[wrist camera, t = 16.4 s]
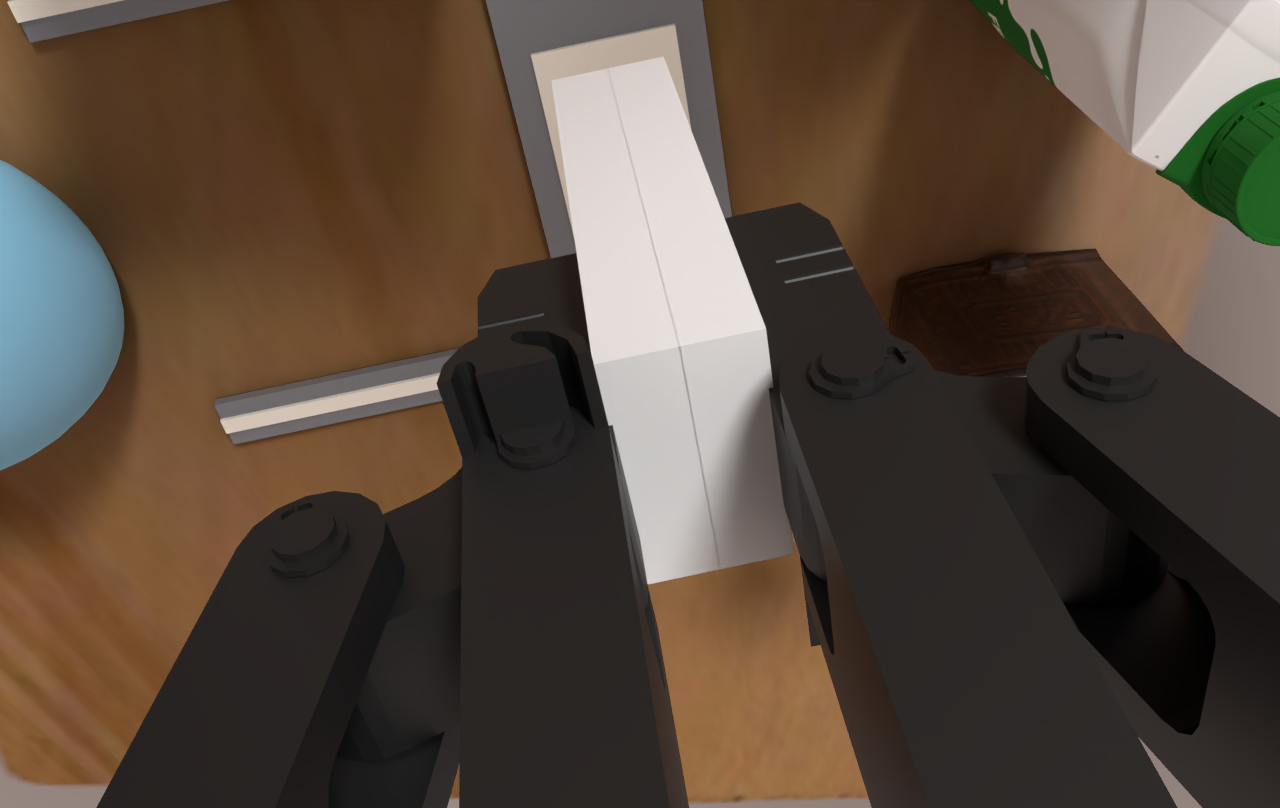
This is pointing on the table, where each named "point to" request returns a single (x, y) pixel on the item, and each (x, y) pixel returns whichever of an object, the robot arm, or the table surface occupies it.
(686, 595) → the table surface
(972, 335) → the brown manual coffee grinder
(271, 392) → the label board
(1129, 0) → the milk carton
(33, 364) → the sugar bowl
